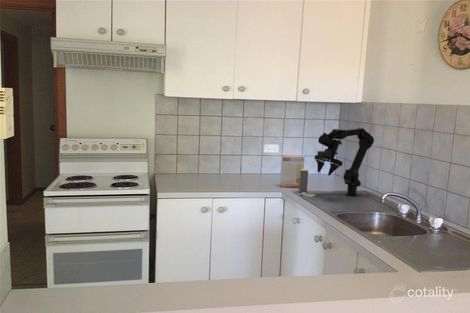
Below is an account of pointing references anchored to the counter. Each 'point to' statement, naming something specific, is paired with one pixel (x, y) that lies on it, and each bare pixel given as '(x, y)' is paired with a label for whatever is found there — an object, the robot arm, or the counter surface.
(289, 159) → the cracker box
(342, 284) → the counter surface
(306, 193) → the green floppy disk
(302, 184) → the chute block
